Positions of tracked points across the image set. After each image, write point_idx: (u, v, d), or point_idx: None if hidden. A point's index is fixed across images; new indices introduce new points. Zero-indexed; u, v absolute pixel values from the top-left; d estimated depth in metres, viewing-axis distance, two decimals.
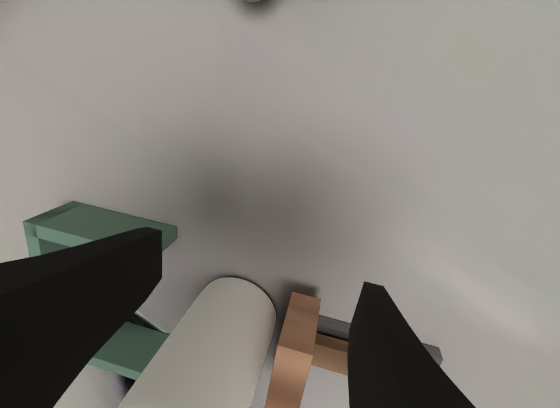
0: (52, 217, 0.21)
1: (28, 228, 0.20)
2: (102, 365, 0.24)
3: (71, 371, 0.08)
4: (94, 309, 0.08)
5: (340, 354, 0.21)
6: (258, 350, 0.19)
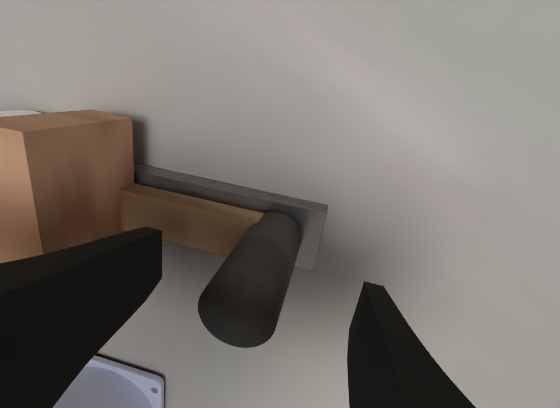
0: None
1: None
2: None
3: (70, 371, 0.08)
4: (94, 309, 0.08)
5: (164, 207, 0.13)
6: None
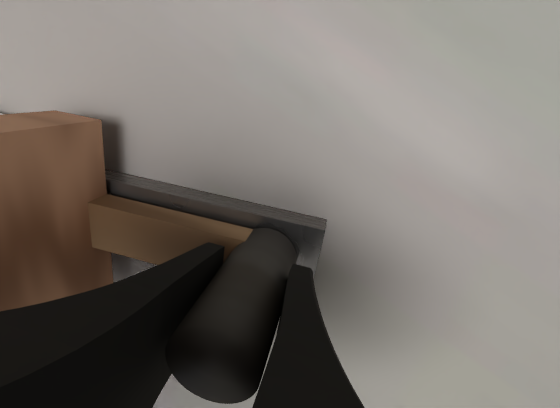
0: None
1: None
2: None
3: (151, 398, 0.08)
4: (172, 333, 0.08)
5: (138, 223, 0.11)
6: None
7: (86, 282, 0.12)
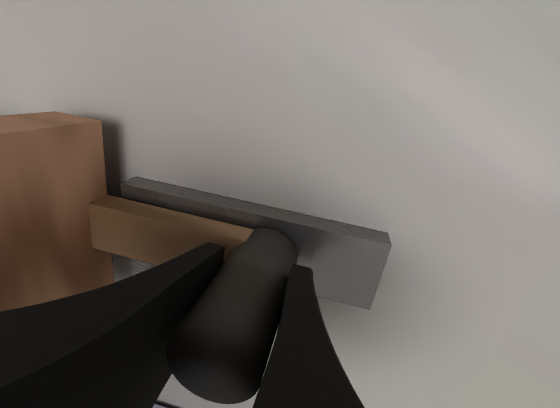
0: None
1: None
2: None
3: (151, 398, 0.08)
4: (172, 333, 0.08)
5: (139, 223, 0.11)
6: None
7: (87, 283, 0.12)
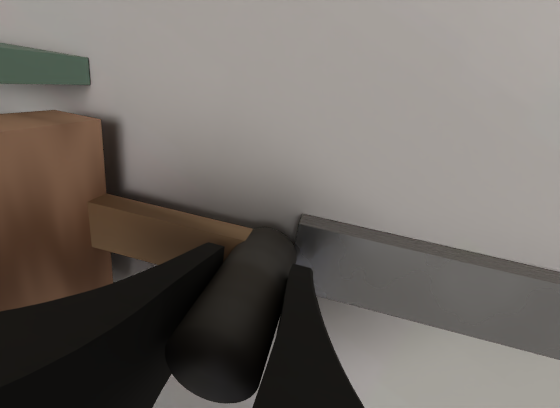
0: None
1: None
2: None
3: (151, 398, 0.08)
4: None
5: (138, 222, 0.11)
6: None
7: (86, 282, 0.12)
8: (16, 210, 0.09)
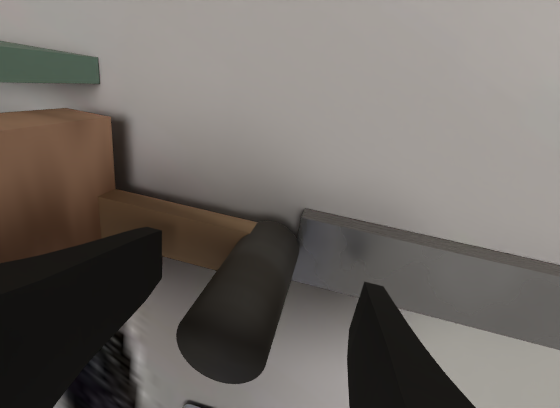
0: None
1: None
2: None
3: (71, 371, 0.08)
4: (94, 309, 0.08)
5: (147, 216, 0.12)
6: None
7: None
8: (33, 203, 0.09)
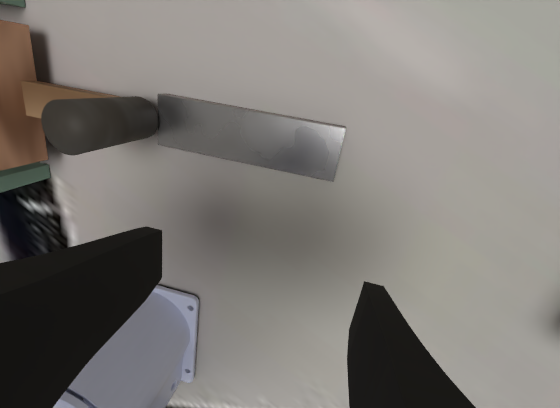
0: None
1: None
2: None
3: (71, 371, 0.08)
4: (94, 309, 0.08)
5: (53, 92, 0.18)
6: None
7: (23, 140, 0.19)
8: None
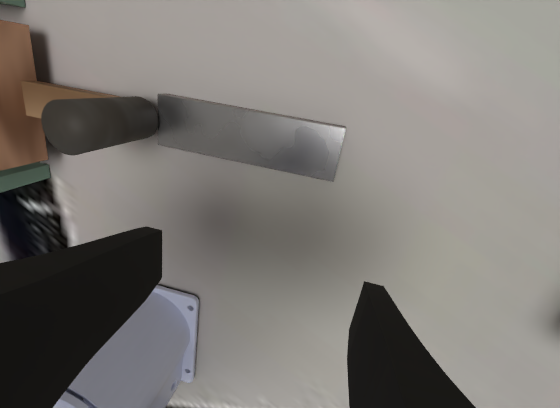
0: None
1: None
2: None
3: (71, 371, 0.08)
4: (94, 309, 0.08)
5: (53, 92, 0.18)
6: None
7: (23, 140, 0.19)
8: None
